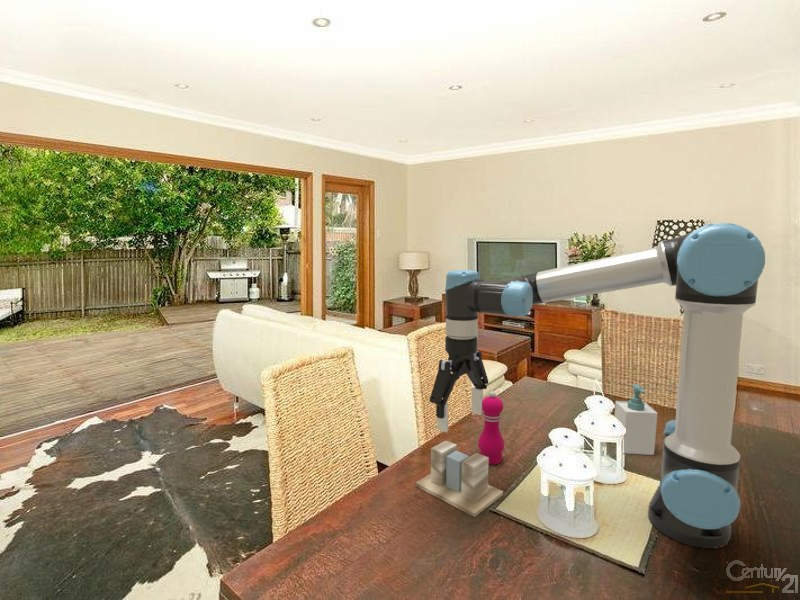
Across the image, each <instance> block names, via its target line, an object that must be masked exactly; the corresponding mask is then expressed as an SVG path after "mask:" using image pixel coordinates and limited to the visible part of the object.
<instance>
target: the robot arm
mask: <svg viewBox="0 0 800 600" xmlns="http://www.w3.org/2000/svg"><path fill="white" fill-rule="evenodd" d="M765 265H766V251H765V248H764V246H763V245H762V242H761V241H760V239H759V238H758V237H757V236H756V234H754V233H753V232H752V231H751V230H749V229H748V228H745V227H743V225H738V224H735V223H724V222H719V223H709V224H706V225H703V226H701V227H699V228H696V229H695V230H692V231H690V232H688V233H686V234H683V235H679V236H676V237H673V238H669V239H664V240H661V241H660V242H659V243H658V244H657V246H655V247H650V248H645V249H640V250H635V251H630V252H626V253H622V254H617V255H612V256H609V257H607V256H606V257H603V258H598V259H595V260H589V261H585V262H581V263H580V262H579V263H574V264H571V265H565V266H562V267H561V266H560V267H555V268H551V269H548V270H547V269H546V270H543V271H539V272H533V273H528V274H519V275H517V276H514V277H510V278H508V279H507V278H506V279H504V280H494V279H492V280H490V279H489V280H487V279H486V280H485V279H480V277H479V272H478V271H477V270H473V269H472V270H470V269H457V270H456V269H454V270H449V271H448V272H447V274H446V277H445V279H446V280H445V288H444V291H445V335H446V336H445V341H444V344H445V345H444V346H445V347H444V348H445V352H446V353H447V354H448V357H447V360H442V359H440V360H439V361H438V369H437V373H436V376H435V381H434V383H433V386H432V390H431V393H430V397H429V403H431V404H435V406H436V407H435V411H436V413H435V416H436V422H437V423H436V425H437V427H436V430H439V431H442V432H444V433H448V432H449V406H450V405H449V404H448V403H447V402H448V400H449V397H450V396H451V394H452V391H453V389H454V387H455V385H456V383H457V380H460V378H461V377H462V376H464V375H466V376H467V377H468V378H469V381H470V382H471V384H472V385H473V386H472V387H471V397H470V398H471V401H470V402H471V404H470V405H471V406H470V407H471V408H470V409H471V410H470V411H471V413H472V414H475V415H478V416H481V415H483V410H482V401H483V399H484V398H483V395H484V394H483V392H484V391H483V390H487V388H488V384H489V378H488V374H487V372H486V368H485V364H484V361H483V357H482V356H483V355H482V354H483V353H482V351H480V350H478V337H477V336H478V334H479V323H478V322H479V319H478V318H479V315H478V314H482V313H483V314H492V315H493V314H494V315H501V316H502V315H503V316H509V317H516V316H517V317H519V316H520V317H524V316H527V315H529V314H530V313H531V309H532V306H534V305H535V306H536V305H540V304H546V303H550V302H555V301H556V302H557V301H561V300H568V299H573V298H580V297H586V296H592V295H596V294H603V293H609V292H615V291H620V290H626V289H632V288H633V289H634V288H639V287H645V286H650V285H656V284H662V283H664V284H667V285H668V286H669V287H672V286H673V287H674V286H675V297H674V298H675V299H674V300H675V301H676V302H677V303H678V304H679V305H680V306H681V307H682V309H683V321H682V332H681V333H682V334H681V344H680V345H681V346H680V347H681V348H680V358H679V372H678V386H677V396H676V406H675V407H676V408H675V409H676V410H675V419H670V420H669V421H667V422H666V423H665V426H664V430H663V431H662V432H663V442H662V443H663V444H662V455H661V467H660V477H659V478H660V479H659V485H658V486H657V489H656V490H655V492H654V494H653V495H652V497H651V500H650V501H649V504H648V510H647V511H648V512H647V516H648V520H649V521H650V523H651V524H652V525H653V527H655V529H657V530H658V531H659V532H661V533H662V534H664V535H665V536H667V537H669V538H670V539H673V540H674V541H676V542H679V543H681V544H685V545H687V546H691V547H694V546H695V548H699V547H701V548H700V549H706V548H714V547H720V546H723V545H725V544H727V543H728V542H729V540H730V541H731V537H732V536H731V535H732V526H731V524H732V523H734V522H735V520H736V519H737V517H738V516H739V515H740V514H739V513H740V509H741V499H740V494H739V493H738V485H739V484H738V483H739V473H740V462H741V454H740V452H739V451H738V450H737V449H736V448H735V446H733V445H732V444H731V443H732V432H733V423H734V415H735V414H734V411H735V403H736V391H737V383H738V382H737V379H738V374H739V373H738V370H739V363H740V362H739V360H740V352H741V339H742V329H743V321H744V320H743V319H744V318H743V317H744V314H745V312H747V311H748V310H749V309H751V308H752V307H754V306H756V301H757V294H758V284H759V279H760V277H761V275H762V274H763V272H764V271H763V270H764V269H765ZM729 543H730V542H729ZM727 545H728V544H727Z"/></svg>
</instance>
